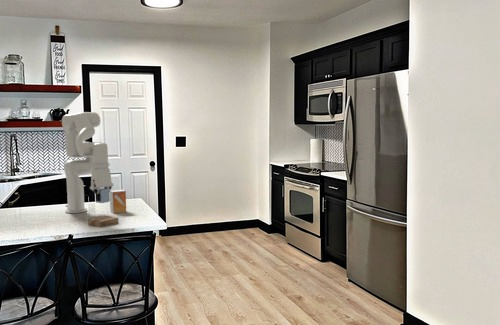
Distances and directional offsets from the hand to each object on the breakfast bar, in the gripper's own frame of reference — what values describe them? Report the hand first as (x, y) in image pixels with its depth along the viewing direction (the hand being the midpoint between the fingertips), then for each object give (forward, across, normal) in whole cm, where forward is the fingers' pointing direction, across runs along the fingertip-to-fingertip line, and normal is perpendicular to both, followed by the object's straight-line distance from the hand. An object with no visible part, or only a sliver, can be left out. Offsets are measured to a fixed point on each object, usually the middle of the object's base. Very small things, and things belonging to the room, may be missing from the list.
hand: (102, 199), depth 247 cm
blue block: (+1, 0, 0) cm, 1 cm away
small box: (+13, -27, -19) cm, 36 cm away
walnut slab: (+13, 0, 0) cm, 13 cm away
